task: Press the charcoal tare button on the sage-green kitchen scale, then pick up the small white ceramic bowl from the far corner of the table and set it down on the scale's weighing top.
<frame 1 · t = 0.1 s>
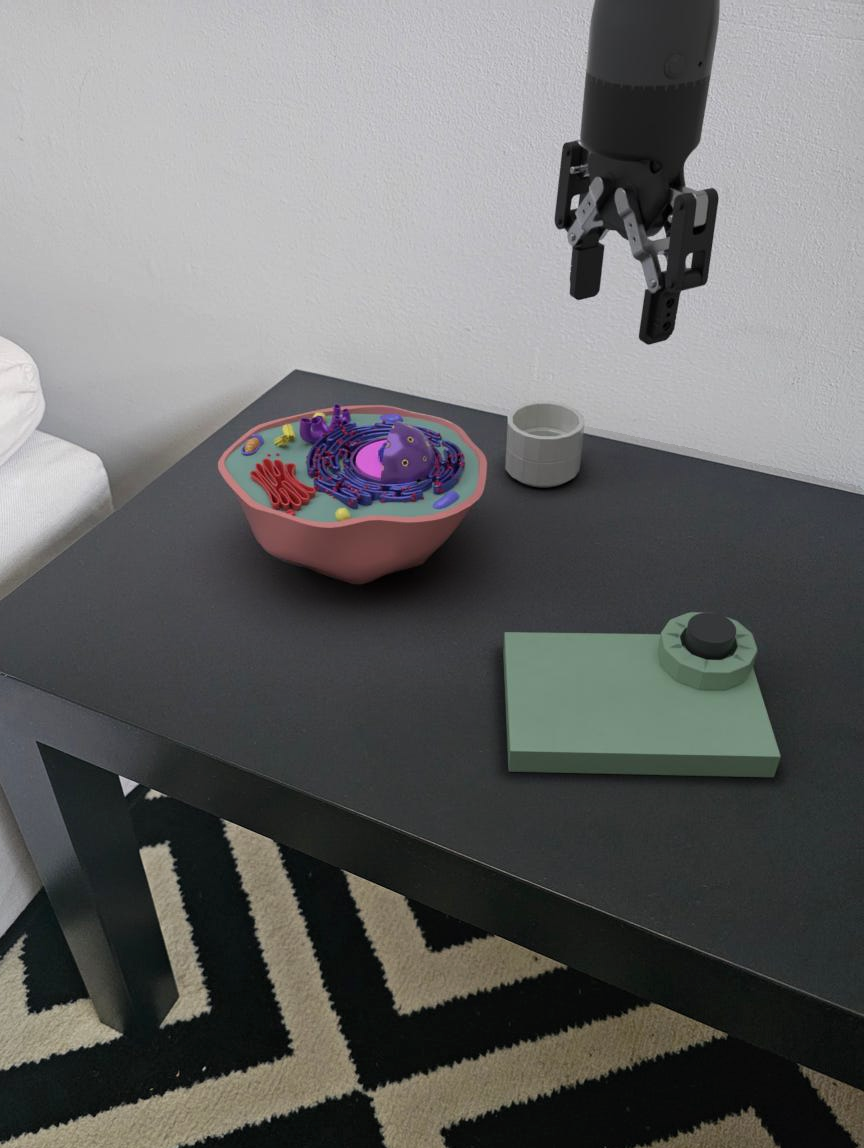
hand: (617, 317, 74), 16 cm above the table, tool pointing down, fingers open, 8 cm apart
tare button: (709, 636, 67), point 4 cm above the table, slide at 0.1 cm
small bowl: (541, 471, 90), on the table
scale: (629, 710, 68), on the table
cell model: (357, 554, 82), on the table
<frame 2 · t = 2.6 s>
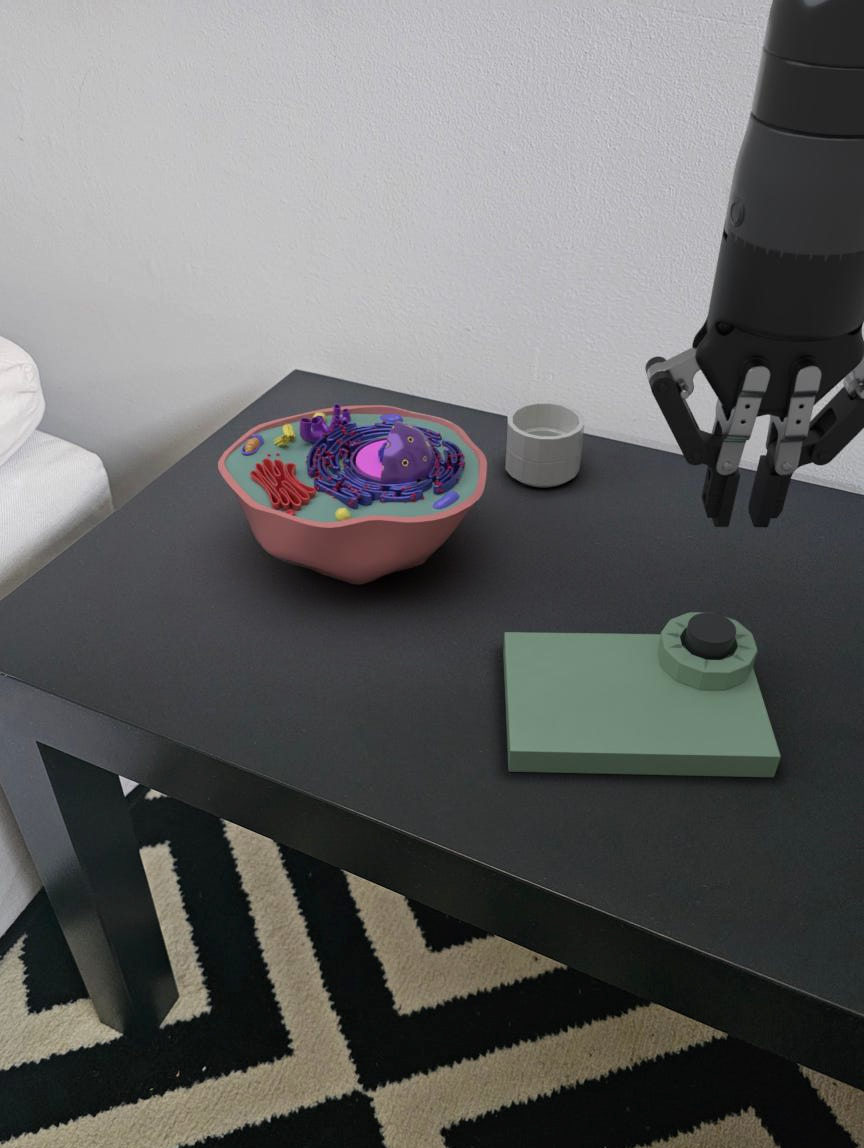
hand: (737, 518, 61), 13 cm above the table, tool pointing down, fingers closed
nothing on the table moved.
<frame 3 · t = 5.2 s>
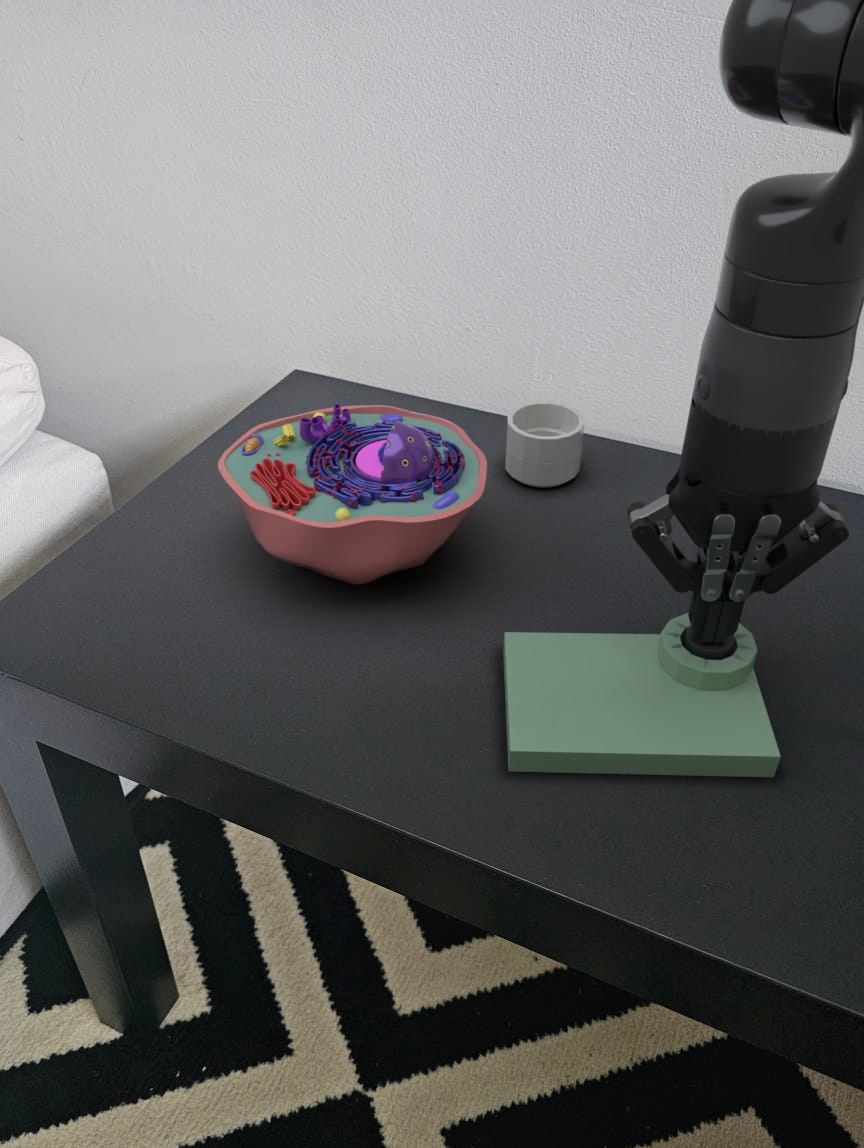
hand: (708, 635, 67), 4 cm above the table, tool pointing down, fingers closed
tare button: (708, 644, 67), point 3 cm above the table, slide at -0.6 cm, touching gripper
everything else where it was.
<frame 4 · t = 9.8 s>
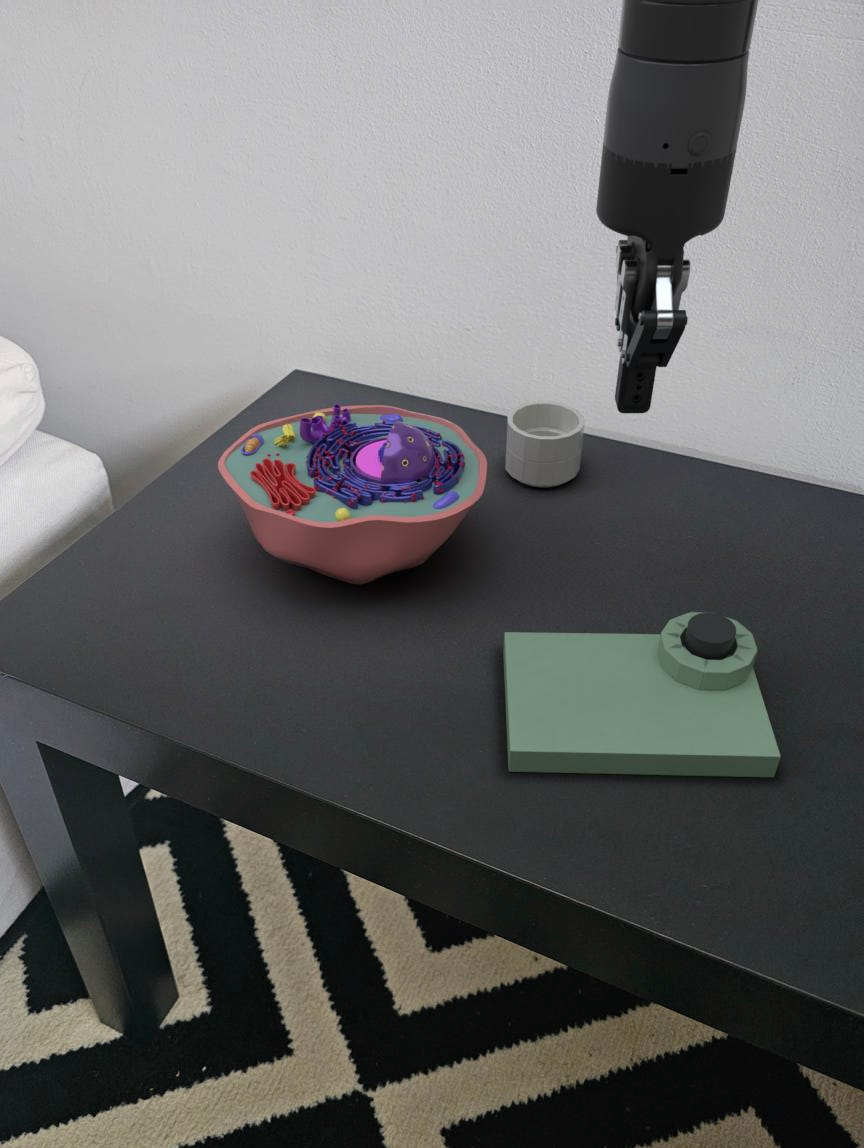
hand: (631, 408, 71), 13 cm above the table, tool pointing down, fingers closed
tare button: (709, 636, 67), point 4 cm above the table, slide at 0.1 cm
everything else where it was.
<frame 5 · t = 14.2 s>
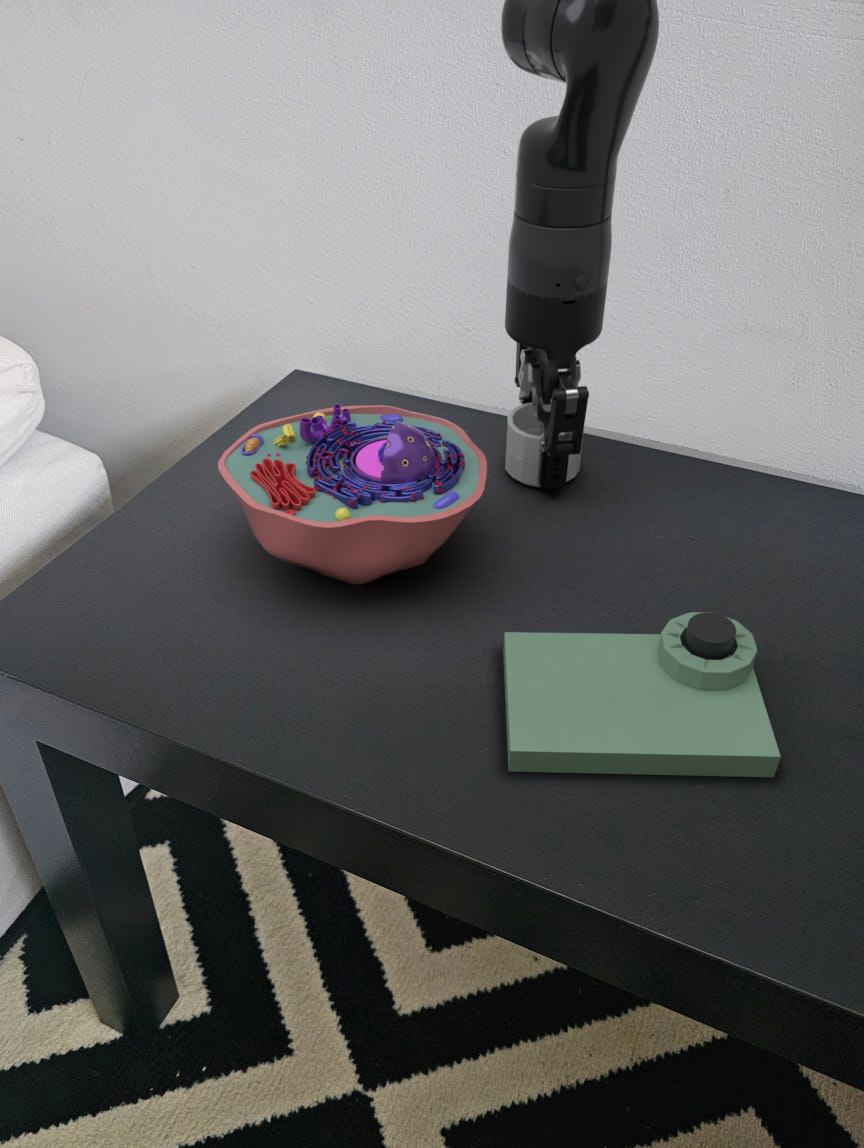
hand: (541, 463, 89), 1 cm above the table, tool pointing down, fingers closed on small bowl, 6 cm apart
small bowl: (541, 471, 90), on the table, touching gripper
everything else where it was.
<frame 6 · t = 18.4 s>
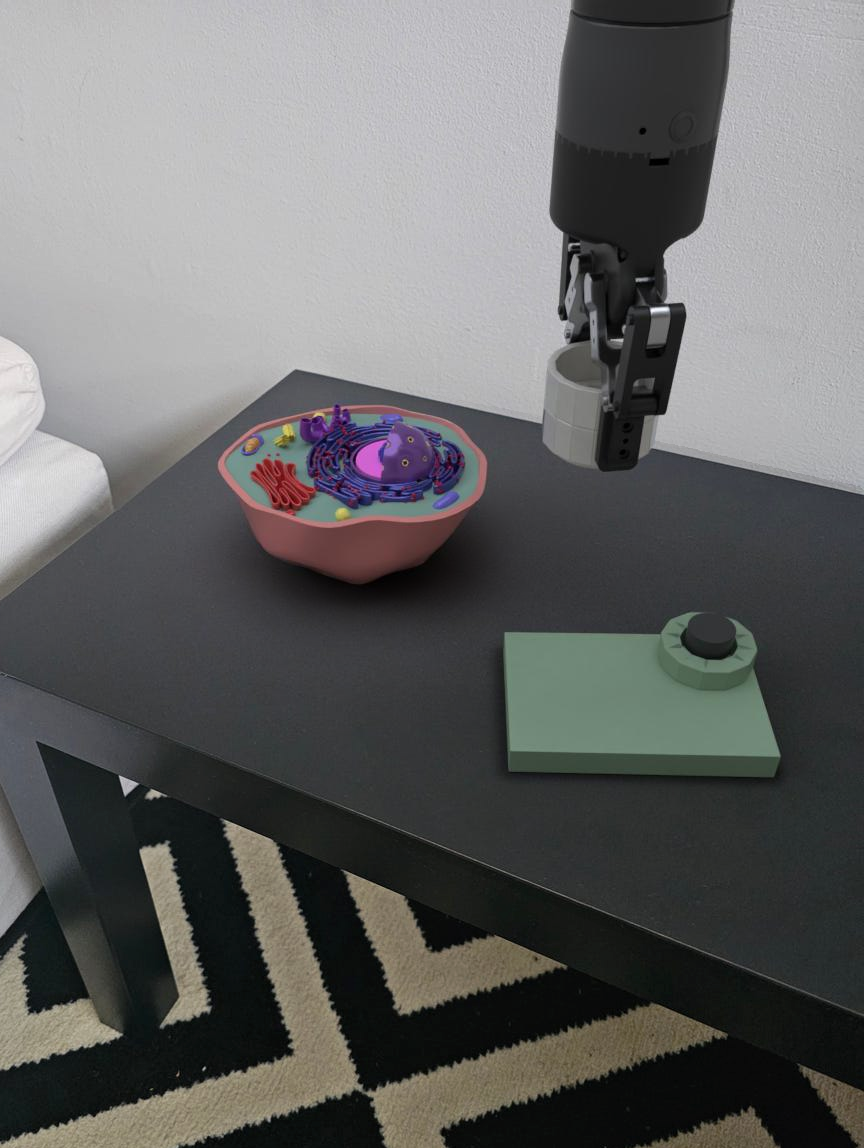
hand: (598, 434, 60), 18 cm above the table, tool pointing down, fingers closed on small bowl, 6 cm apart
small bowl: (596, 445, 60), point 17 cm above the table, touching gripper
everything else where it was.
when the fingers open (3 cm above the table, at t = 22.7 s): small bowl stays where it is, resting on scale.
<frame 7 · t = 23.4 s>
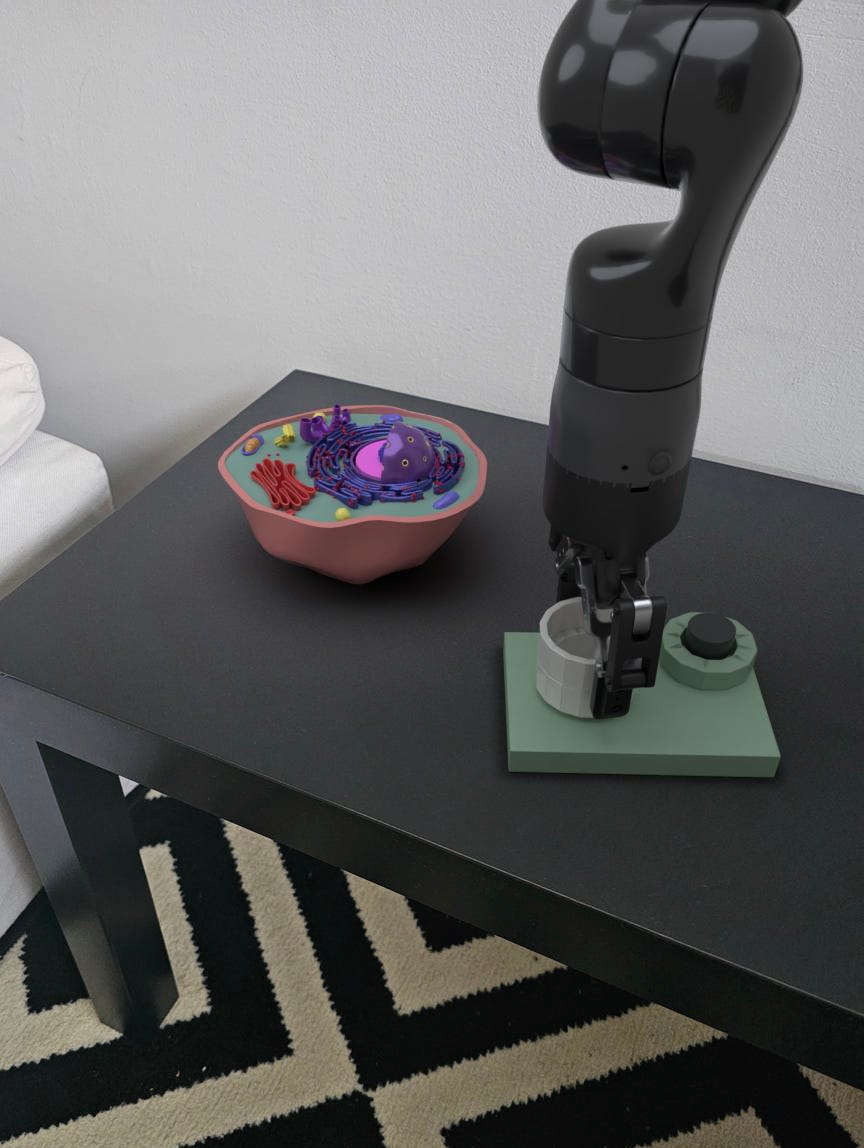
hand: (589, 666, 65), 4 cm above the table, tool pointing down, fingers open, 8 cm apart
small bowl: (584, 688, 67), point 2 cm above the table, touching scale
everything else where it was.
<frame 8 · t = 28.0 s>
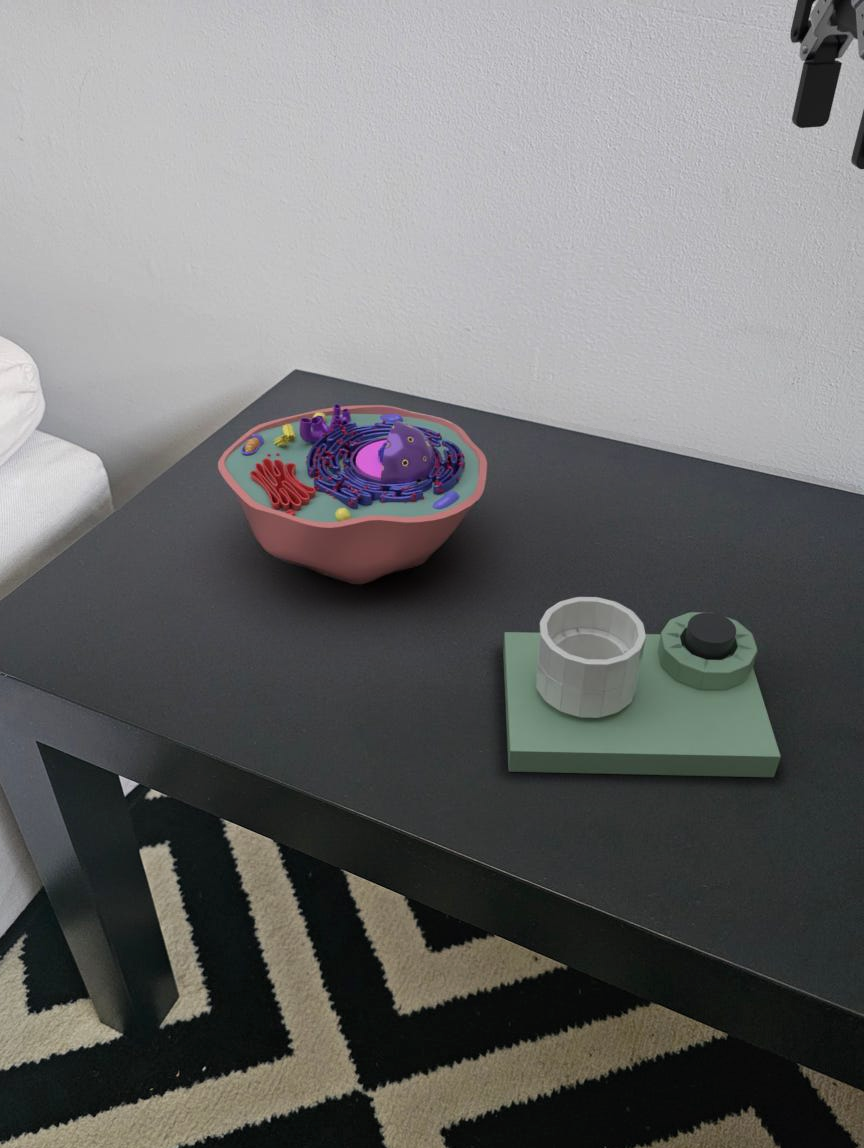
hand: (837, 145, 65), 28 cm above the table, tool pointing down, fingers open, 8 cm apart
nothing on the table moved.
at the end: tare button pushed in 0.9 cm at the most during the clip, back to where it started at the end; small bowl inside the target area on the scale (2.4 cm from its centre), point 1.9 cm above the scale's base; small bowl tilted 0° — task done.
